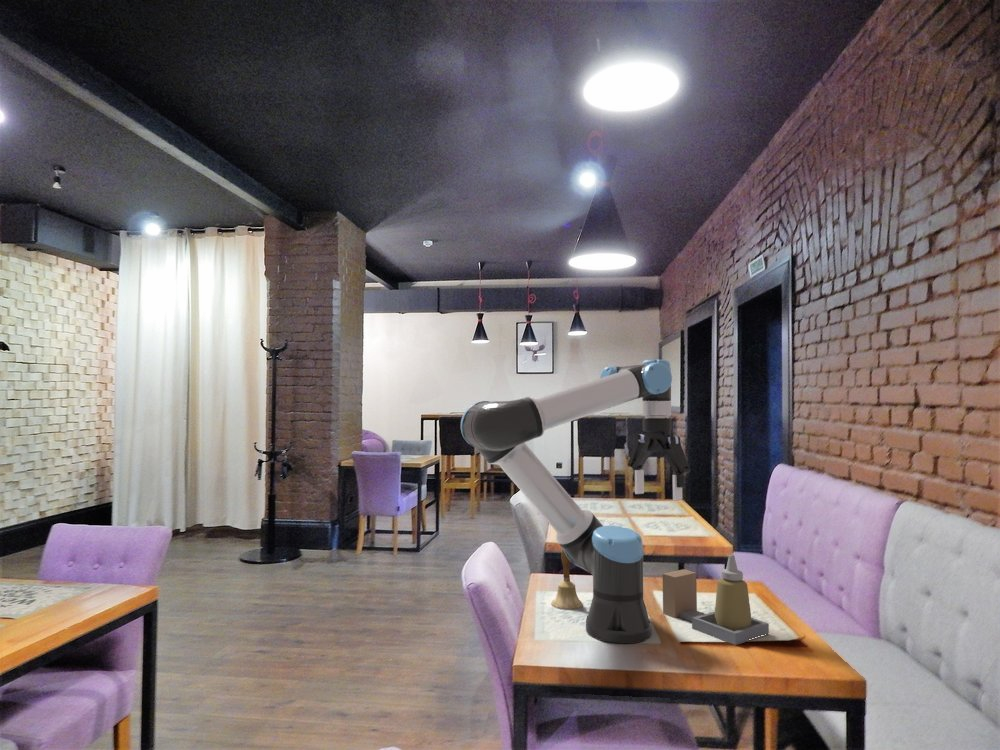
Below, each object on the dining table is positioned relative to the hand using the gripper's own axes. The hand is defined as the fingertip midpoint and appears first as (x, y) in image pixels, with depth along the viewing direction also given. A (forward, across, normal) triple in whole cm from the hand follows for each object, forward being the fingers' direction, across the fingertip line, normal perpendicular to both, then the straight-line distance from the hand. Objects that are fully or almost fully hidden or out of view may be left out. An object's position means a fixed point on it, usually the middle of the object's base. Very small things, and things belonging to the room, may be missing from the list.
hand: (657, 496), depth 162 cm
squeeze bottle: (+29, -23, 0) cm, 37 cm away
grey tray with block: (+28, -17, 0) cm, 33 cm away
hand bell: (+29, +14, +20) cm, 38 cm away
